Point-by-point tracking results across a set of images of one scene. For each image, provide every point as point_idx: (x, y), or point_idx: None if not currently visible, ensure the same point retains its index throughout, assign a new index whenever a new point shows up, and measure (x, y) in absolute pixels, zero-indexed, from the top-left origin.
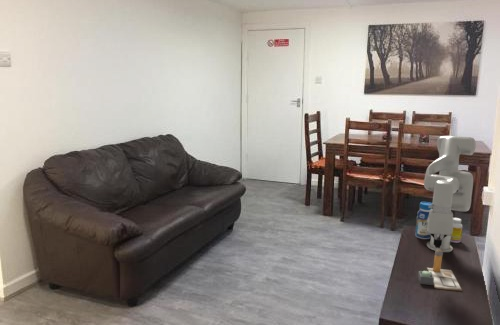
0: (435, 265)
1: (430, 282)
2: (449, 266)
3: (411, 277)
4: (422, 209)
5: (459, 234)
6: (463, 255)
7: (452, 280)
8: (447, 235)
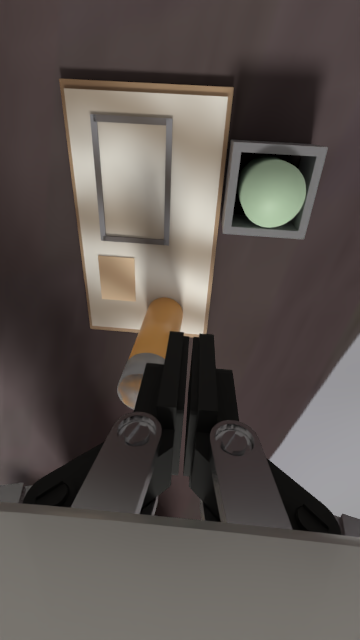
0: (173, 320)
1: (249, 141)
2: (94, 365)
3: (329, 225)
4: None
5: None
6: (30, 447)
7: (102, 208)
8: (14, 498)
